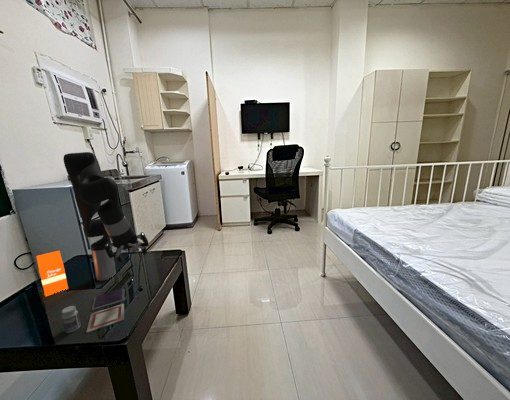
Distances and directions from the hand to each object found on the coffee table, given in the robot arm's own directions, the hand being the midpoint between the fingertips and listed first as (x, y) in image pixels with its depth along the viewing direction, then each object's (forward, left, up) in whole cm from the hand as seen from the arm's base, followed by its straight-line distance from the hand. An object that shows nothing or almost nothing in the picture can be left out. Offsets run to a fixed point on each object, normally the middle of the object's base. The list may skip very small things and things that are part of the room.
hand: (133, 257), depth 90 cm
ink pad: (-19, -3, -23) cm, 30 cm away
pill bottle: (-13, -20, -23) cm, 33 cm away
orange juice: (-54, -11, -23) cm, 60 cm away
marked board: (-7, -10, -23) cm, 26 cm away
